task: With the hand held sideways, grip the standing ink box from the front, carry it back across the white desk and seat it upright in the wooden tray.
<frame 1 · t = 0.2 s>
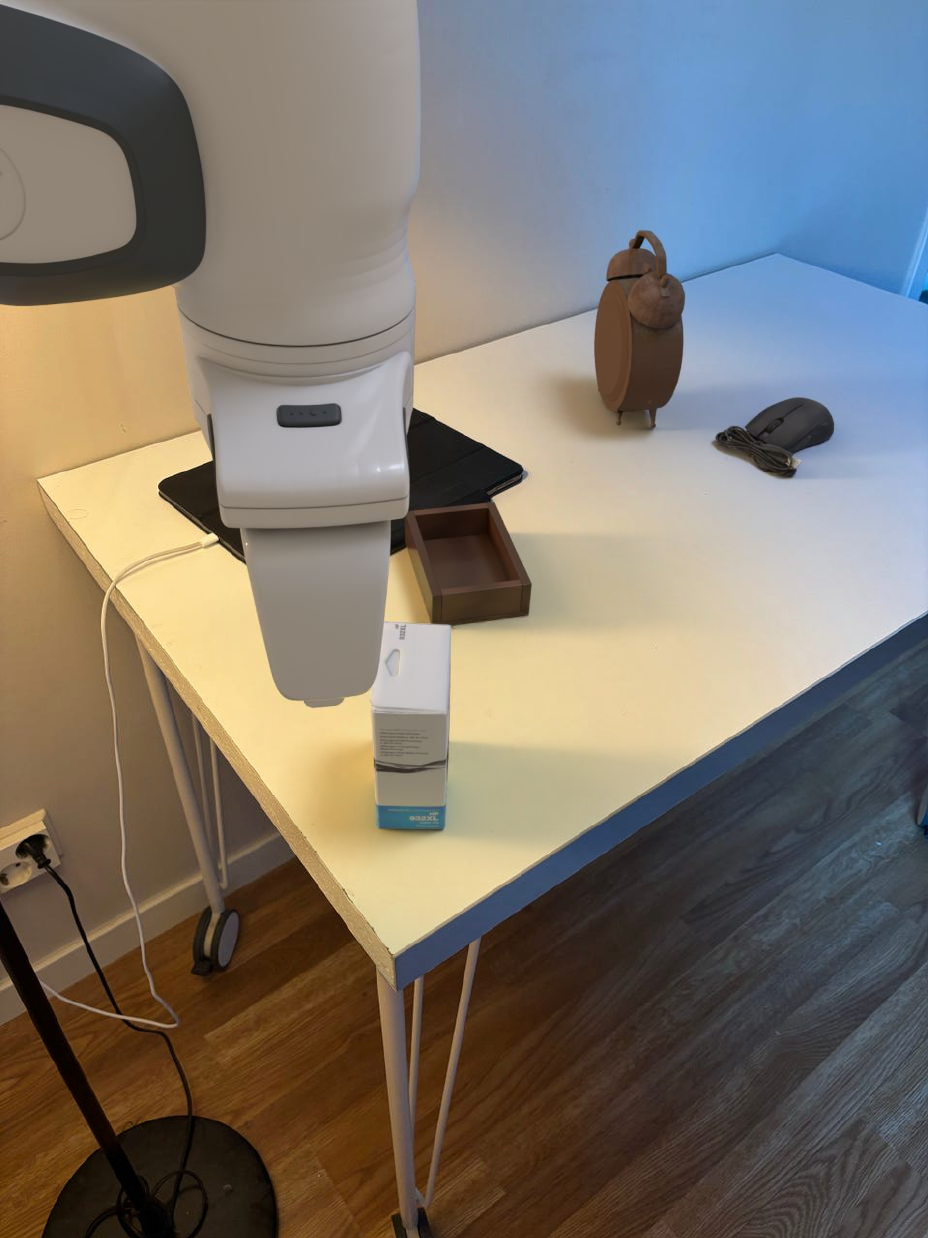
hand: (316, 626, 47), 23 cm above the table, tool pointing down, fingers open, 8 cm apart
ink box: (413, 784, 69), on the table
wooden tray: (464, 576, 87), on the table
alarm clock: (627, 411, 111), on the table
computer mouse: (784, 443, 107), on the table
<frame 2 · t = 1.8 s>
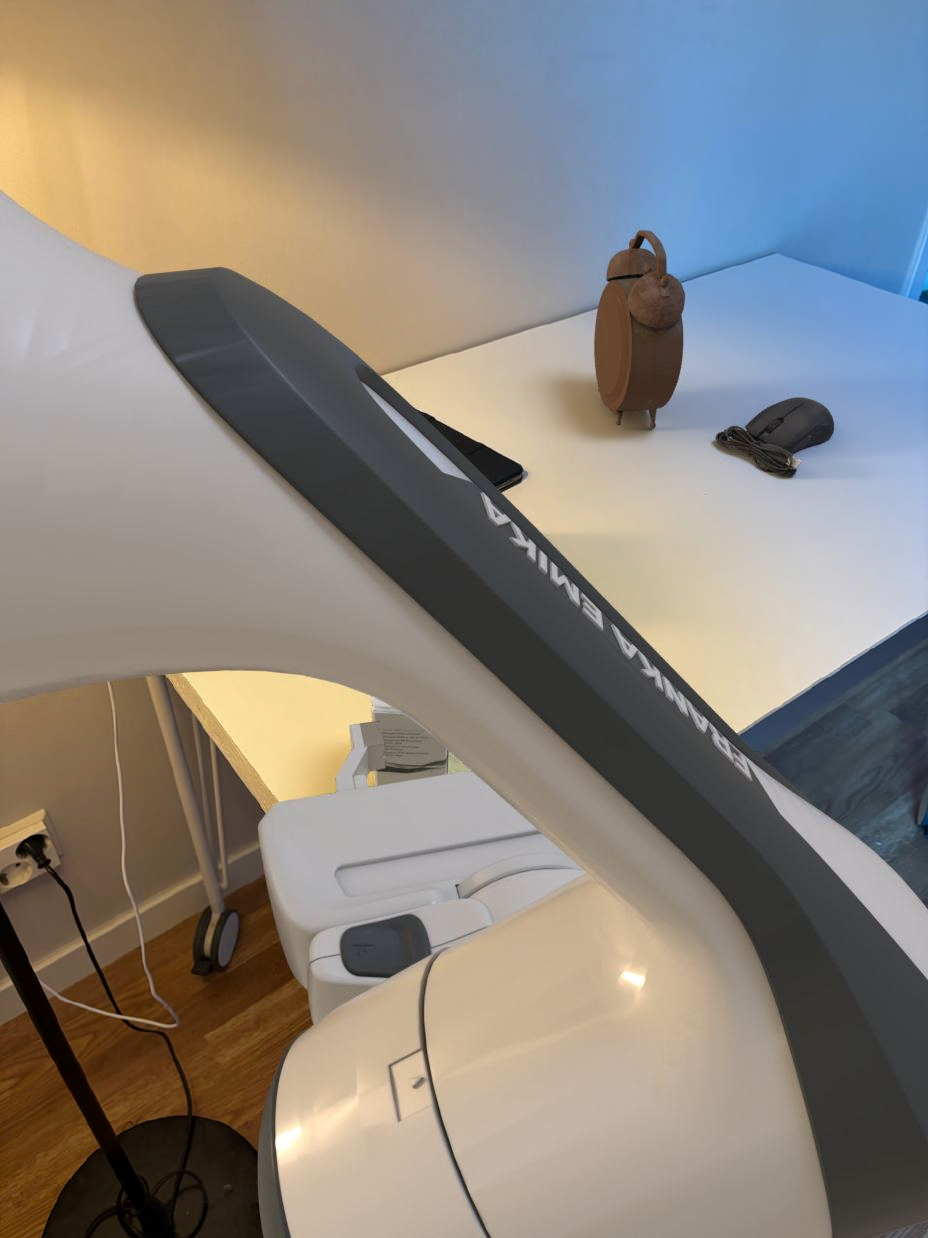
hand: (459, 716, 47), 19 cm above the table, tool horizontal, fingers open, 8 cm apart
nothing on the table moved.
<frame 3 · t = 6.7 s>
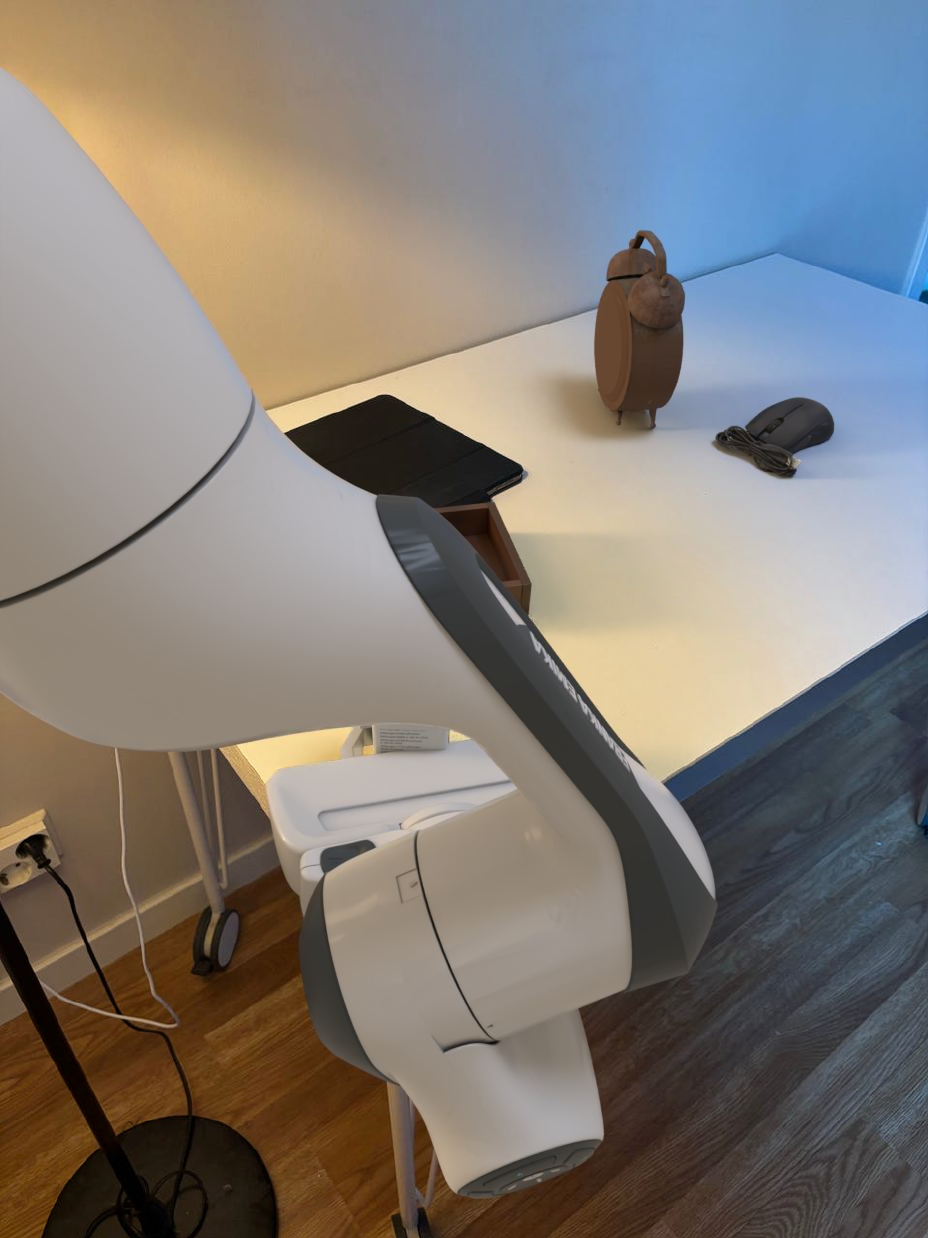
hand: (410, 710, 65), 7 cm above the table, tool horizontal, fingers closed on ink box, 5 cm apart
ink box: (413, 784, 69), on the table, touching gripper
everything else where it was.
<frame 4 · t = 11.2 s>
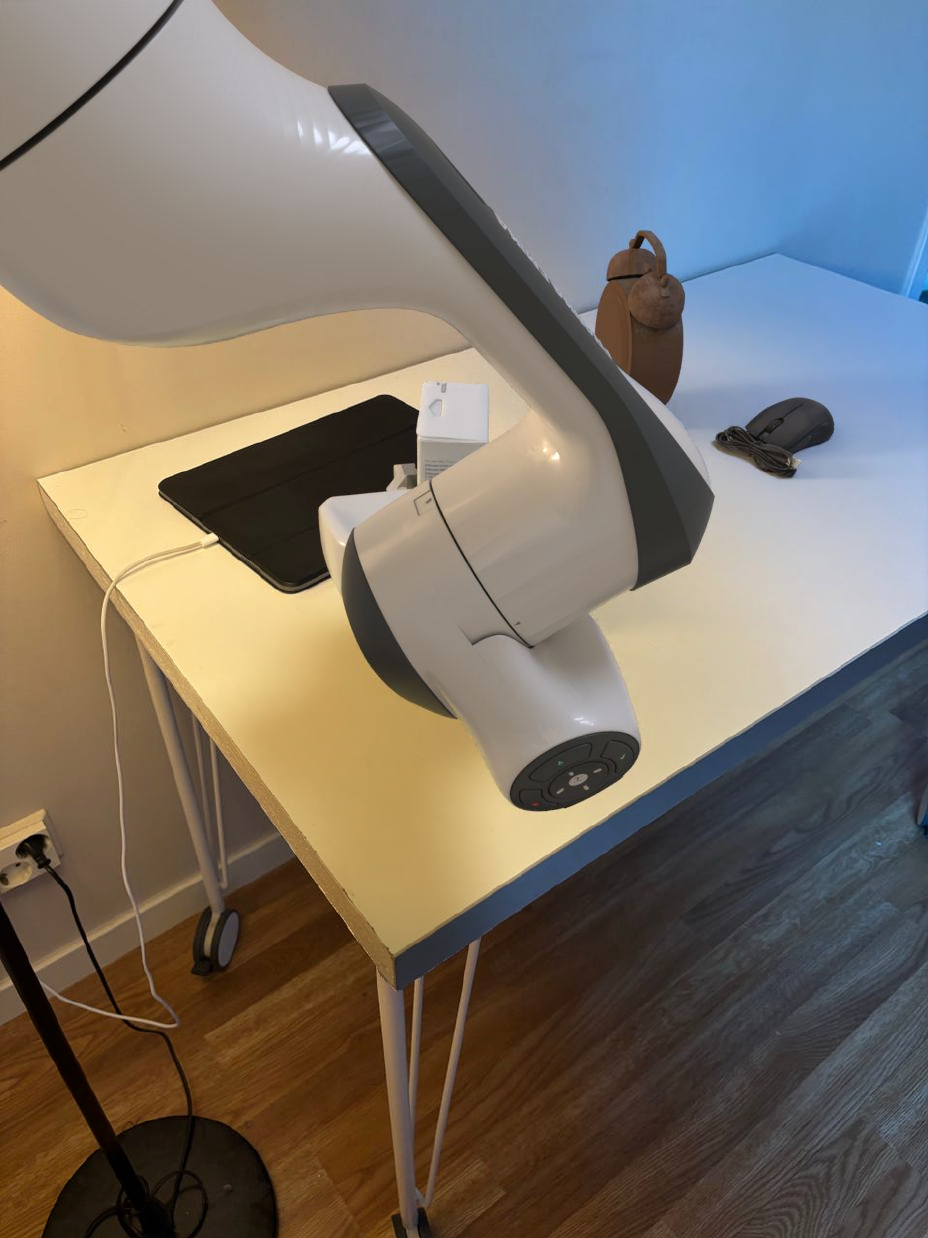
hand: (449, 467, 69), 17 cm above the table, tool horizontal, fingers closed on ink box, 5 cm apart
ink box: (451, 549, 73), point 10 cm above the table, touching gripper
everything else where it was.
when the fingers open (7 cm above the table, at t = 15.9 s): ink box stays where it is, resting on wooden tray.
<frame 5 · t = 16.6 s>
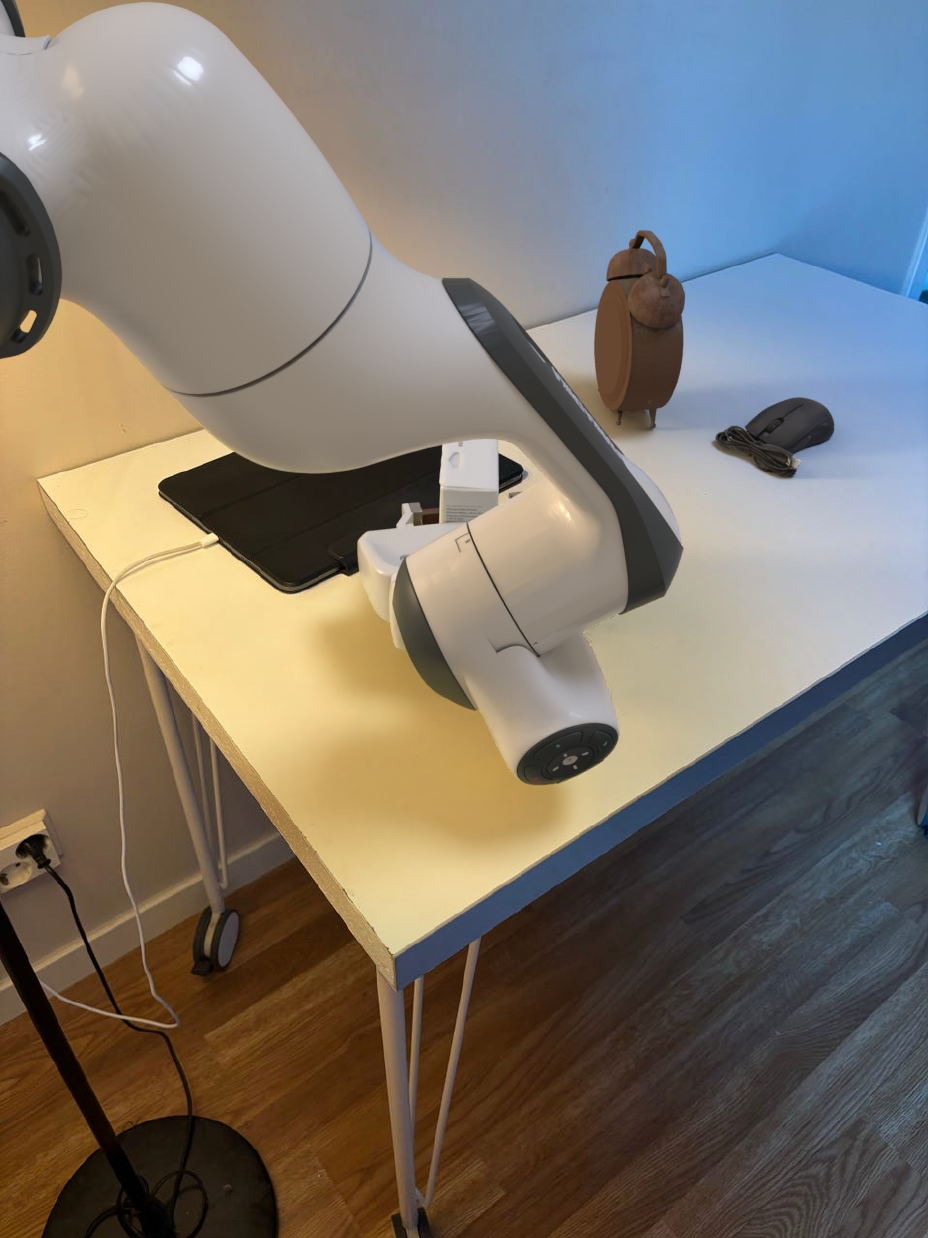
hand: (463, 503, 82), 7 cm above the table, tool horizontal, fingers open, 8 cm apart
ink box: (465, 574, 86), resting on wooden tray
everything else where it was.
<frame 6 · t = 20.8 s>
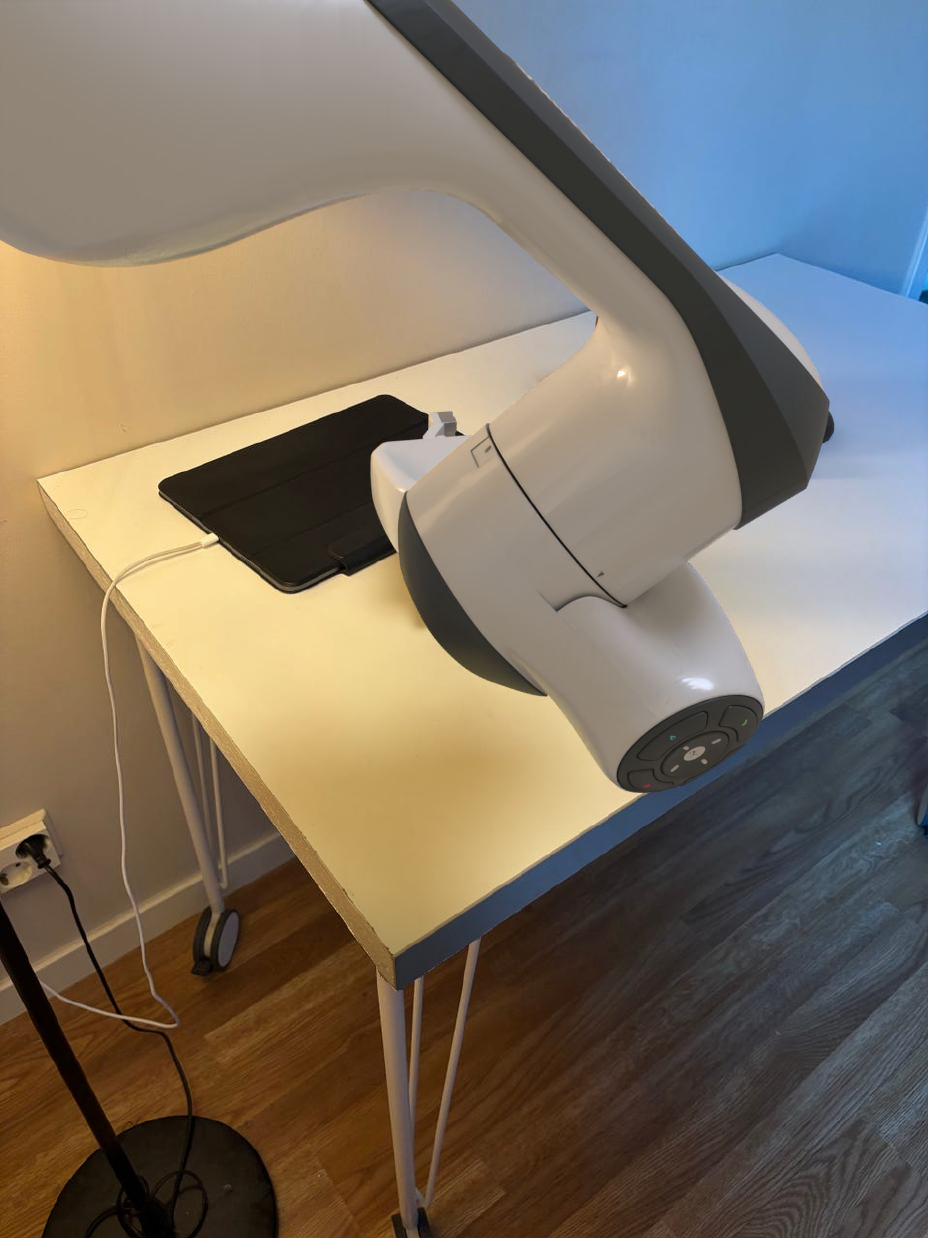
hand: (509, 415, 62), 23 cm above the table, tool horizontal, fingers open, 8 cm apart
nothing on the table moved.
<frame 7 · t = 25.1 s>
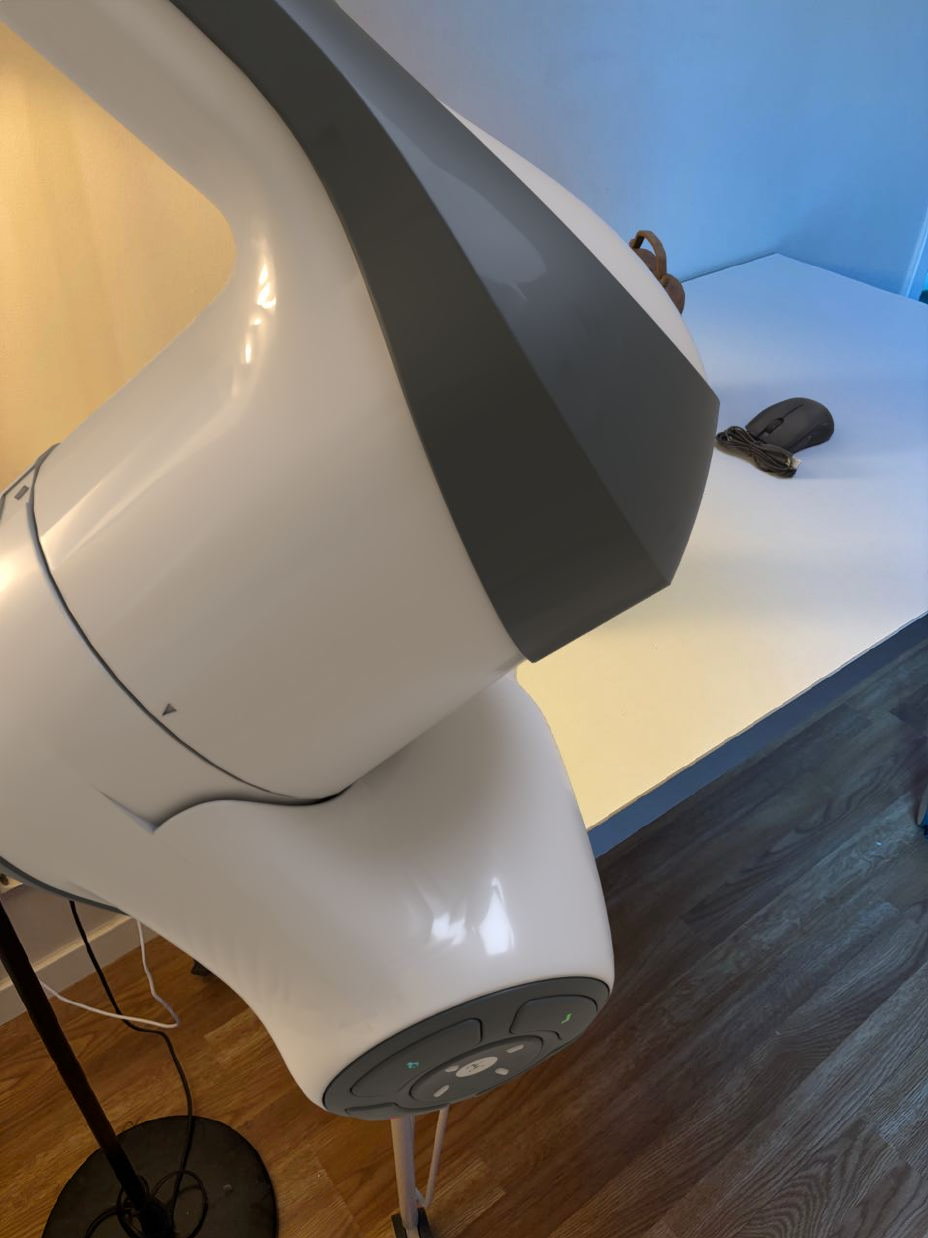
hand: (322, 422, 43), 32 cm above the table, tool horizontal, fingers open, 8 cm apart
nothing on the table moved.
at the end: ink box 0.1 cm off-centre in the wooden tray, point 0.3 cm above the wooden tray's base; ink box tilted 0° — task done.
